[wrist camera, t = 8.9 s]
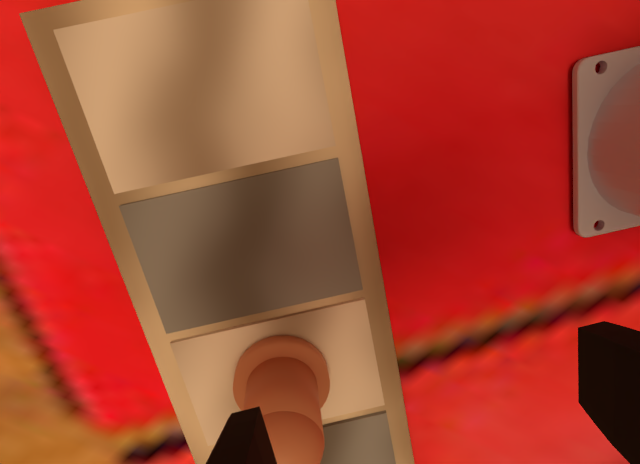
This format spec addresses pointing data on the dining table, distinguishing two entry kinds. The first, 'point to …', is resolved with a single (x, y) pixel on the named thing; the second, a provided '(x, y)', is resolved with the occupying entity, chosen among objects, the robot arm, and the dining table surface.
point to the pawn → (286, 395)
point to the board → (232, 198)
